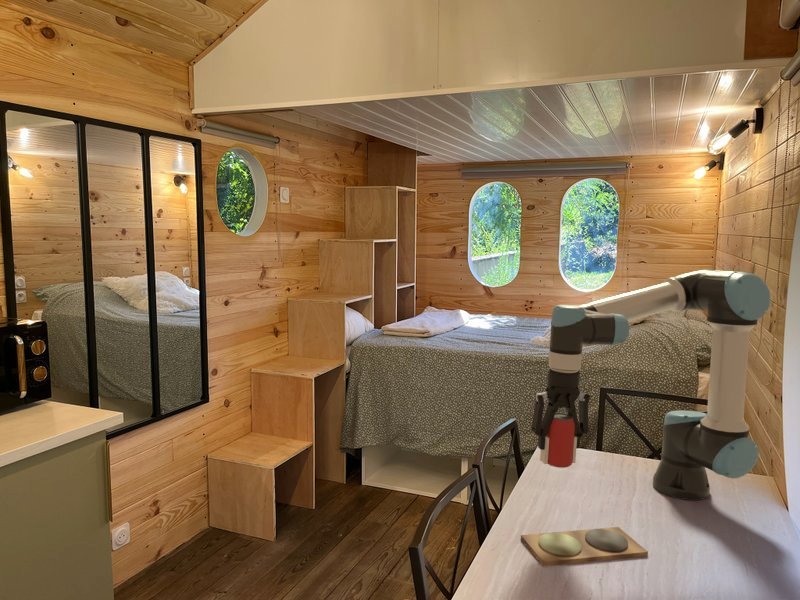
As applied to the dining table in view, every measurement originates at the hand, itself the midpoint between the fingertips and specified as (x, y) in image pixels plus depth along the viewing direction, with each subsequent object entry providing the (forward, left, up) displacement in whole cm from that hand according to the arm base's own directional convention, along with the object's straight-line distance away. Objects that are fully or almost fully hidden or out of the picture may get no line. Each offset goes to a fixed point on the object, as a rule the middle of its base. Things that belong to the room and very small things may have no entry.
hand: (557, 461), depth 150 cm
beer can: (0, 0, -1) cm, 1 cm away
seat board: (-3, +9, -17) cm, 20 cm away
